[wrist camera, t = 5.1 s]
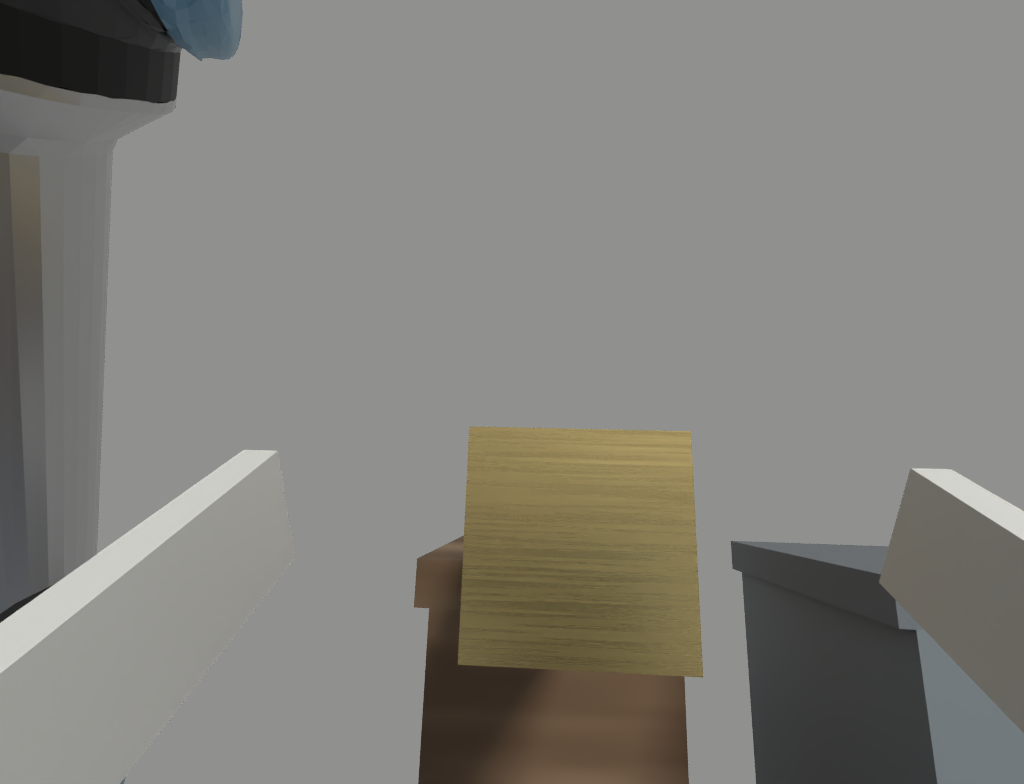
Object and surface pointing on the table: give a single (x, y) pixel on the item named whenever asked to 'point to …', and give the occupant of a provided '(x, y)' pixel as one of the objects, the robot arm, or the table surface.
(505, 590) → the pin
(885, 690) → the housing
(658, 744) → the block
